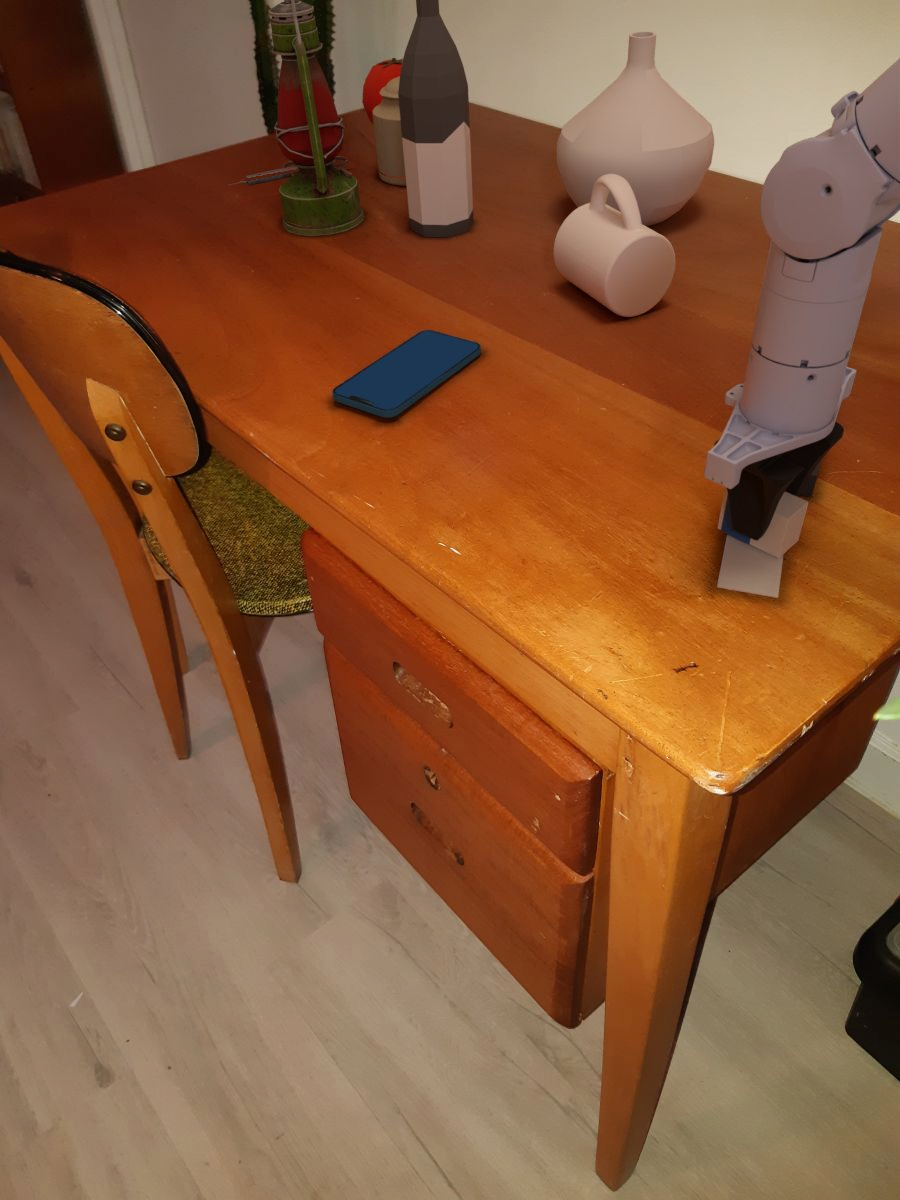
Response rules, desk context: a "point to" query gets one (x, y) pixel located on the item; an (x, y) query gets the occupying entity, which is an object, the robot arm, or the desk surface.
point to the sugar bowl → (389, 135)
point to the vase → (638, 139)
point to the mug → (614, 251)
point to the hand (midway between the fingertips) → (760, 521)
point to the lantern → (309, 131)
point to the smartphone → (406, 373)
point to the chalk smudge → (749, 569)
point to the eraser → (771, 525)
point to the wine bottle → (435, 128)
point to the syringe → (281, 176)
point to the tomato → (378, 83)
